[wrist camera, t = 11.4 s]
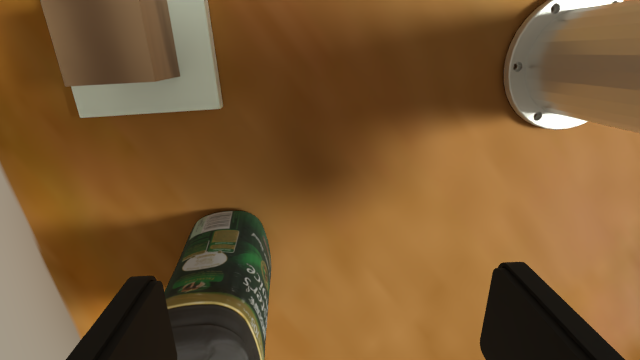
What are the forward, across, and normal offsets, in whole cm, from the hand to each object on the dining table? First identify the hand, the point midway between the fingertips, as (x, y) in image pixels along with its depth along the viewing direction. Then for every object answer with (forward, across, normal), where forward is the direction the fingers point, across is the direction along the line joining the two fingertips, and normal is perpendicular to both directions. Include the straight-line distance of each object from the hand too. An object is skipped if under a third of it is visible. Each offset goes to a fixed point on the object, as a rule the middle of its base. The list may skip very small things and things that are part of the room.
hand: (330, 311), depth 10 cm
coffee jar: (+25, +9, +13) cm, 30 cm away
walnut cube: (+24, +14, -8) cm, 29 cm away
